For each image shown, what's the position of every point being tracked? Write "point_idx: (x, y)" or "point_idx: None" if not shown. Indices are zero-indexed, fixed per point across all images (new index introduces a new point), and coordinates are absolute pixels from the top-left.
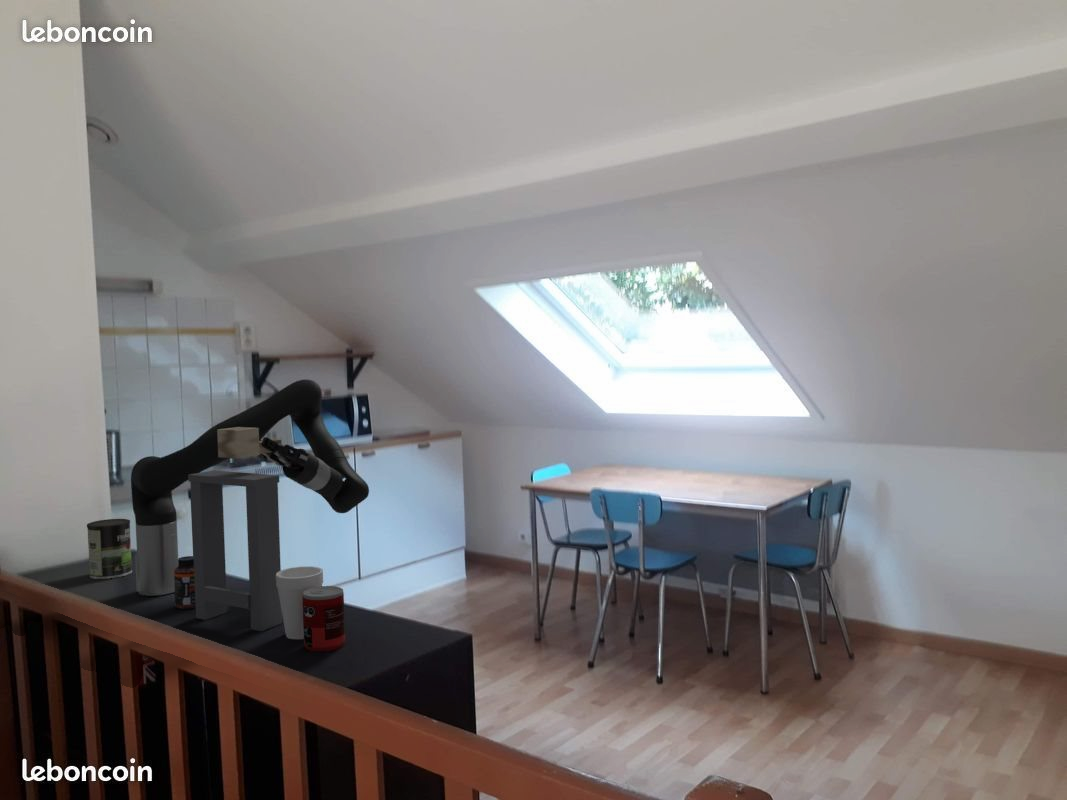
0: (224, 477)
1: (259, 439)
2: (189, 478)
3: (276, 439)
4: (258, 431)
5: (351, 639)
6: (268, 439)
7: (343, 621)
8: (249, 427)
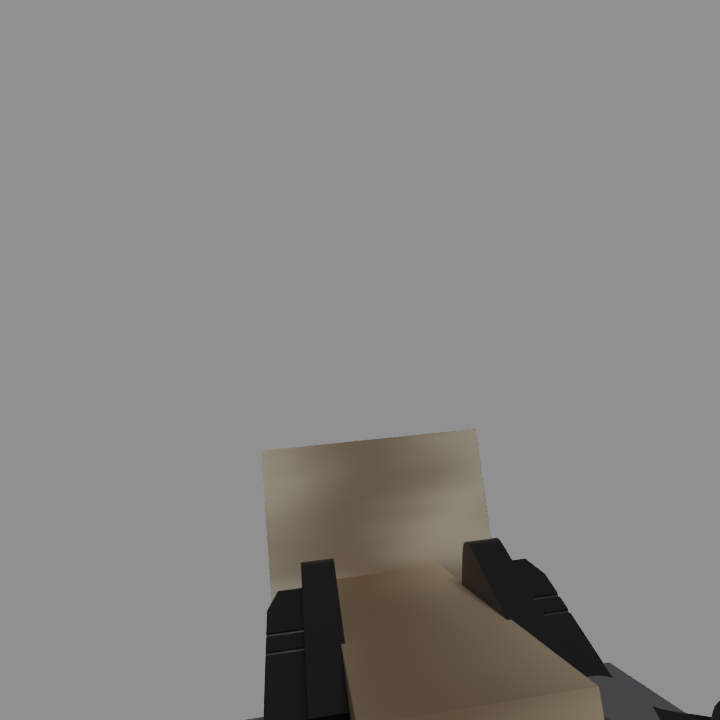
0: None
1: (487, 588)
2: None
3: (480, 704)
4: (264, 480)
5: None
6: (287, 590)
7: None
8: (363, 440)
